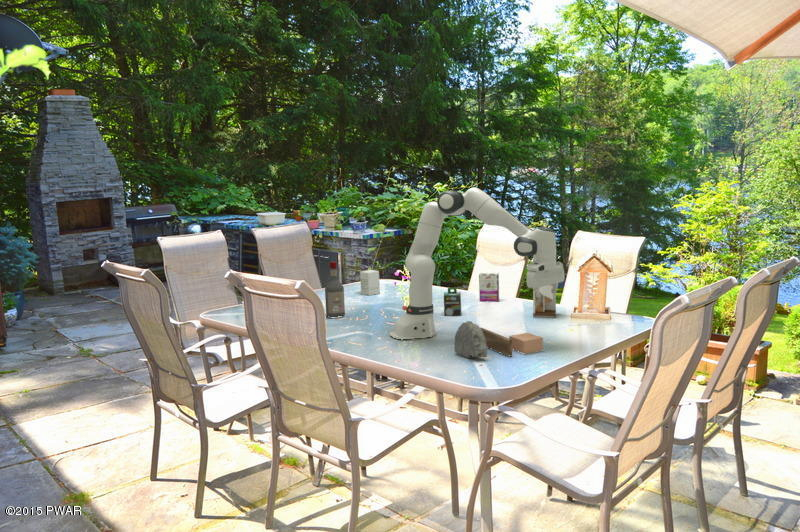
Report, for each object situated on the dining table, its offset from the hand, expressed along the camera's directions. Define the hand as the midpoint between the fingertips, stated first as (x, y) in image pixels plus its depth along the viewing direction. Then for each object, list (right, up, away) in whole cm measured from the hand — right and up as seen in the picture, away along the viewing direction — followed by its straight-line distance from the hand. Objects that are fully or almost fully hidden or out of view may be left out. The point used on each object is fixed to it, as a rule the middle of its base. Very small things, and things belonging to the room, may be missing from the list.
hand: (546, 294), depth 278 cm
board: (-24, -23, -5) cm, 34 cm away
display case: (+11, -14, +53) cm, 56 cm away
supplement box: (-84, -5, +125) cm, 151 cm away
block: (-11, -24, -7) cm, 27 cm away
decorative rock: (-35, -25, -15) cm, 46 cm away
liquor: (-100, -15, +66) cm, 121 cm away
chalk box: (-36, -14, +63) cm, 74 cm away
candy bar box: (-12, -8, +94) cm, 95 cm away
